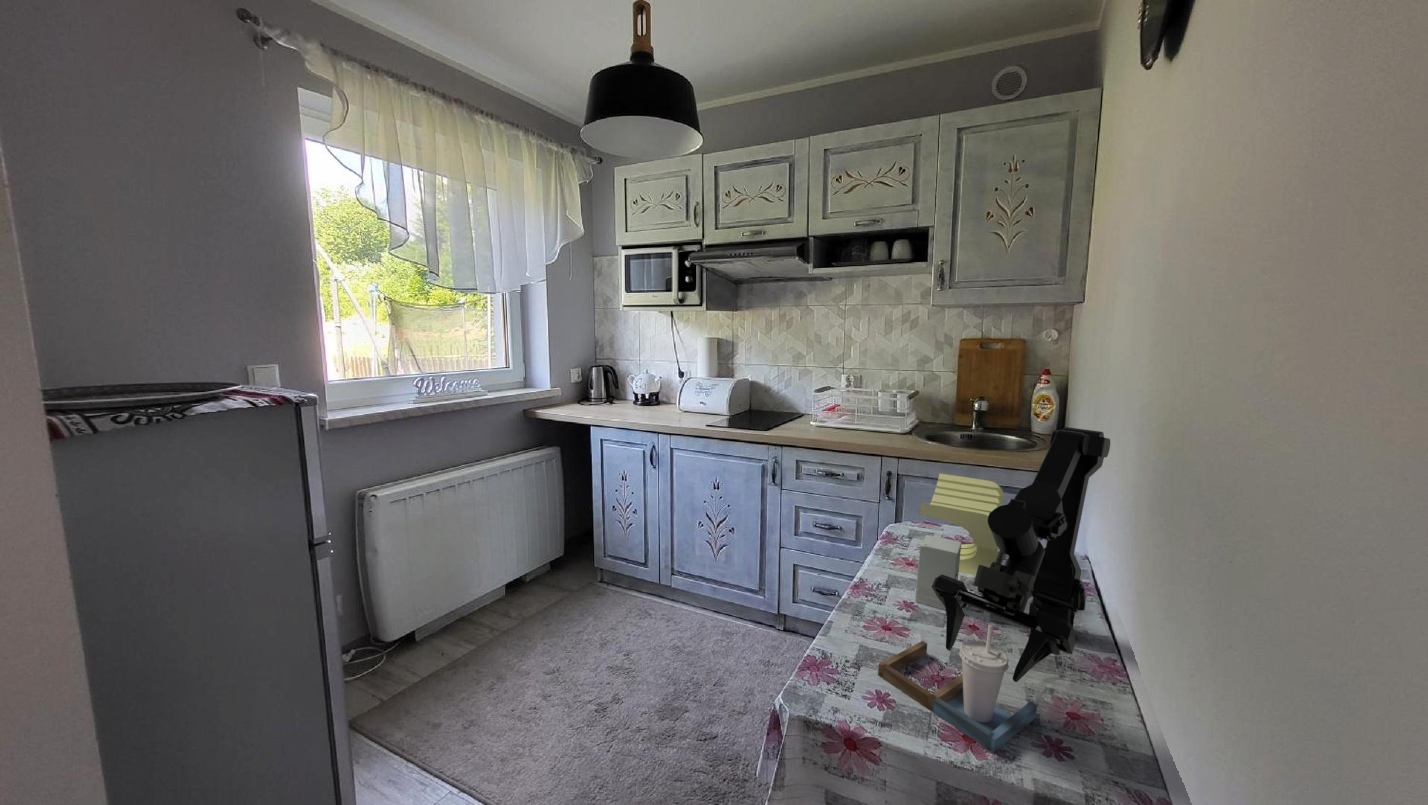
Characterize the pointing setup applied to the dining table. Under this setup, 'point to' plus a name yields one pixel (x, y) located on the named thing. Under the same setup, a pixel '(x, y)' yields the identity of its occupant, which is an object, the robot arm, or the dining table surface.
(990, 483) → the slatted curved stool
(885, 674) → the blue and brown frame
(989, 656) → the smoothie
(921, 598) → the supplement box
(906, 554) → the dining table surface
